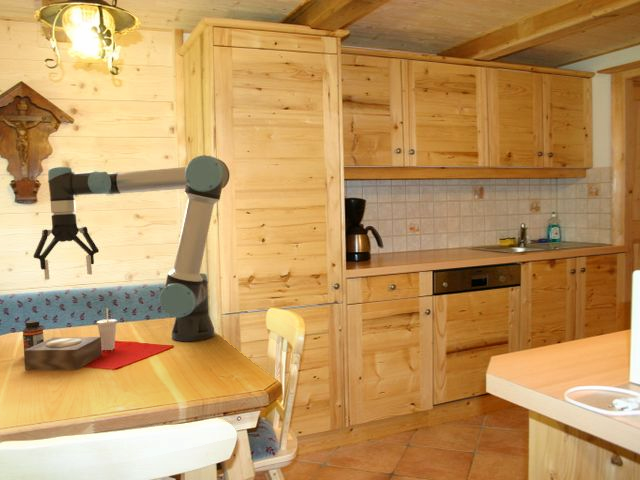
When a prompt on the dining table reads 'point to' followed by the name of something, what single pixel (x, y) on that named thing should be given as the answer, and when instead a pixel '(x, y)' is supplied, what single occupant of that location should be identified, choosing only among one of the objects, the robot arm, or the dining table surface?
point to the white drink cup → (107, 332)
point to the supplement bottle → (32, 334)
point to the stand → (62, 353)
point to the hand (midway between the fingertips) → (68, 276)
